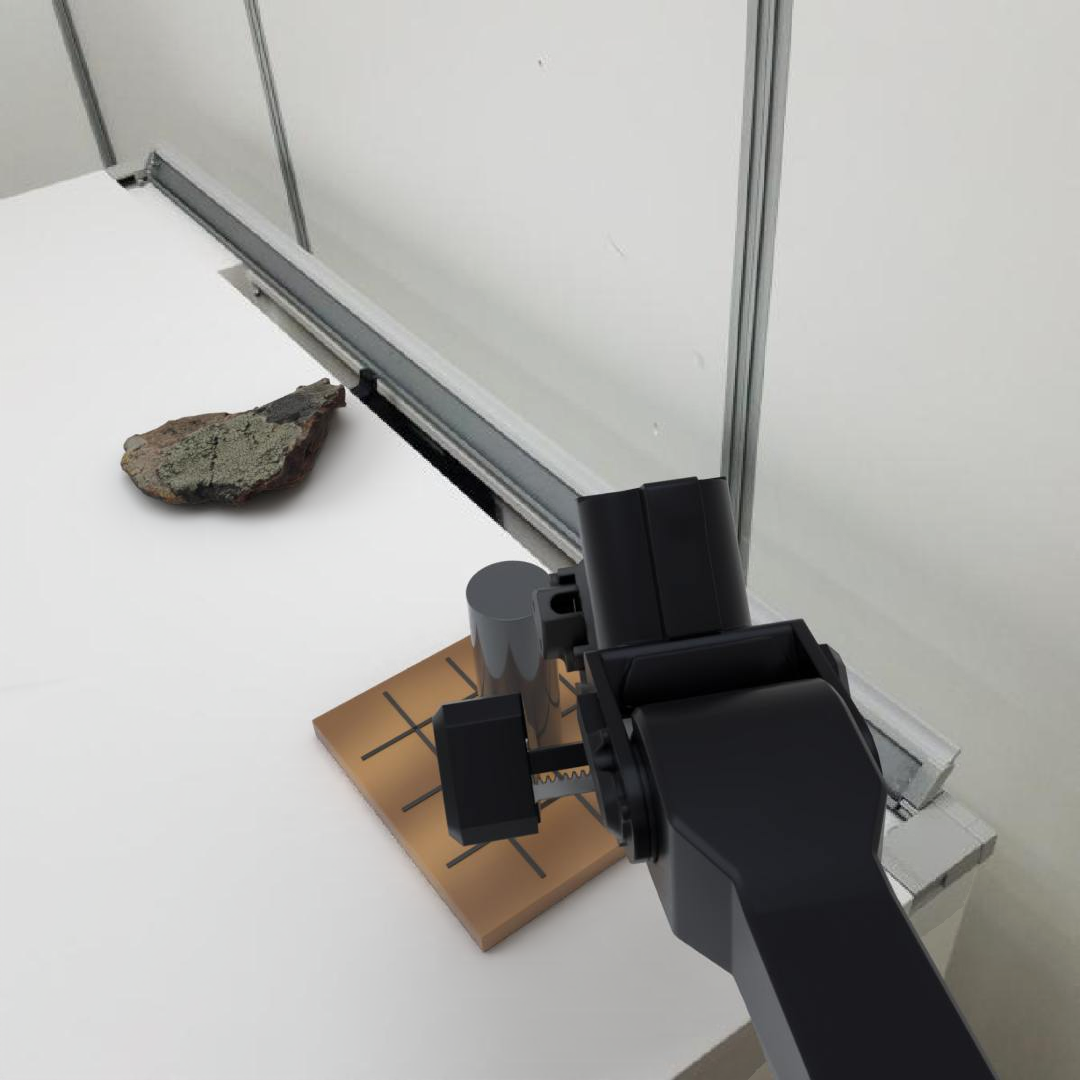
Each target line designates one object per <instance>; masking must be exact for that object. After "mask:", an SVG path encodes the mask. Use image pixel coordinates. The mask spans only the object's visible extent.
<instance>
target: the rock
mask: <svg viewBox="0 0 1080 1080" xmlns="http://www.w3.org/2000/svg"><path fill="white" fill-rule="evenodd" d="M346 391H347V390H346V388H345V385H344V384H342V383H339V384H337V385H335V384H331V380H330V378H329V377H328V378H327V377H323V378H321V379H319V380H317V381H315V382H313V383H311V384H309V385H308V384H307V385H298V386H297V387H296V388H295V390H294V391H293V392H290V393H287V394H285V395H284V396H282V397H280V398H277V399H275V400H273V401H270V402H268V403H266V404H263V405H261V406H259V407H258V406H255V407H254V408H252V409H247V410H245V411H240V412H234V413H230V412H226V411H221V412H208V413H202V414H201V413H200V414H196V415H188V416H183V417H180V418H177V419H169V420H167V421H166V422H165V423H163V424H162V425H159V426H158V427H157V428H154V429H152V430H149V431H146V432H143V433H141V434H137V433H135V434H133V435H131V436H129V437H127V438H126V439H125V441H124V442H123V446H122V447H123V450H124V451H125V452H124V453H123V455H122V458H121V460H120V462H119V464H120V467H121V470H122V471H124V472H125V474H127V475H128V477H129V478H130V480H131V481H132V483H133V484H134V485H135V487H136V488H137V489H138V490H139V491H140V492H141V493H143V494H144V495H145V496H147V497H149V498H150V499H151V498H152V499H153V500H157V501H161V502H164V503H166V504H169V505H170V506H171V505H172V506H173V505H178V504H192V505H197V504H201V503H205V502H206V503H207V502H209V501H212V500H213V501H216V502H218V503H221V504H225V505H228V506H231V507H235V508H240V507H242V506H243V505H245V504H246V503H247V502H248V500H250V498H251V497H253V496H255V495H257V494H259V493H261V492H266V491H269V490H281V489H285V488H286V489H287V488H293V487H297V486H299V485H300V483H301V482H302V481H303V480H304V478H306V476H307V475H308V474H309V473H311V470H312V467H313V466H314V463H315V461H316V459H317V457H318V454H319V452H320V450H321V447H322V446H323V445H324V443H325V441H326V440H327V437H328V435H329V427H330V424H331V421H332V419H333V417H334V410H336V409H343V408H346V407H347V402H346V394H347V392H346Z"/></svg>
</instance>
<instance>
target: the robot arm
mask: <svg viewBox="0 0 1080 1080" xmlns="http://www.w3.org/2000/svg"><path fill="white" fill-rule="evenodd" d="M573 501H574V508H575V513H576V514H575V515H576V520H577V526H578V532H579V539H580V540H579V541H580V544H581V553H582V558H583V559H581V561H579V562H578V564H576V565H573V566H565V567H559V568H557V571H556V572H550V573H548V574H549V585H550V586H548V587H544V588H537V589H534V591H533V592H532V606H533V614H534V619H535V625H536V630H537V635H538V641H539V646H540V652H541V655H542V658H543V659H544V660H551V659H561V660H563V661H564V663H565V667H566V671H567V673H568V672H574V671H579V675H580V681H581V682H576V683H575V687H576V694H577V695H576V701H577V720H578V724H579V728H580V732H581V736H582V741H576V742H570V743H564V744H558V745H552V746H546V747H540V748H538V747H537V740H536V734H535V730H534V728H533V727H532V726H531V725H530V724H529V723H528V720H527V715H526V711H525V707H524V703H523V698H522V694H521V693H520V692H519V693H516V692H515V693H506V694H498V695H491V696H485V697H479V698H473V699H467V700H460V701H454V702H448V703H443V704H442V705H441V706H440V708H439V709H438V710H437V712H436V713H435V714H434V716H433V717H432V724H433V732H434V739H435V746H436V752H437V759H438V766H439V773H440V780H441V787H442V794H443V800H444V807H445V814H446V821H447V827H448V833H449V836H451V837H452V838H453V839H454V840H456V841H457V842H458V843H460V844H461V845H462V846H463V847H464V846H469V845H475V844H481V843H487V842H493V841H498V840H504V839H510V838H516V837H522V836H527V835H533V834H539V830H538V823H541V801H542V800H547V799H553V798H559V797H565V796H571V795H577V794H583V793H589V792H594V791H595V793H596V797H597V801H598V805H599V810H600V814H601V818H602V822H603V825H604V827H605V829H606V830H608V831H609V832H610V833H612V834H613V835H614V836H616V839H617V844H618V847H619V848H620V847H624V849H625V852H626V855H625V856H626V858H627V860H628V862H629V864H631V865H637V864H642V863H646V867H647V869H648V872H649V875H650V877H651V880H652V883H653V885H654V888H655V891H656V893H657V896H658V899H659V901H660V904H661V907H662V909H663V912H664V914H665V917H666V919H667V922H668V925H669V927H670V930H671V932H672V934H673V935H674V936H675V938H676V939H678V940H679V941H681V942H682V943H684V944H685V945H687V946H689V947H690V948H692V949H693V950H695V951H696V952H697V953H699V954H700V955H702V956H704V957H705V958H707V959H708V960H709V961H711V962H713V963H714V964H715V965H716V966H718V967H719V968H721V969H722V970H724V971H726V972H727V973H729V974H730V975H731V976H732V977H733V980H734V982H735V984H736V986H737V988H738V991H739V993H740V996H741V998H742V1000H743V1002H744V1004H745V1008H746V1010H747V1013H748V1015H749V1018H750V1021H751V1023H752V1027H753V1028H754V1029H753V1030H754V1031H755V1034H756V1037H757V1040H758V1042H759V1045H760V1047H761V1050H762V1053H763V1055H764V1058H765V1061H766V1064H767V1066H768V1069H769V1073H770V1075H771V1077H772V1079H773V1080H1001V1078H1000V1076H999V1074H998V1073H997V1071H996V1069H995V1067H994V1066H993V1064H992V1062H991V1060H990V1058H989V1057H988V1055H987V1053H986V1051H985V1050H984V1048H983V1046H982V1044H981V1042H980V1041H979V1039H978V1037H977V1035H976V1034H975V1031H974V1030H973V1028H972V1027H971V1025H970V1023H969V1021H968V1019H967V1018H966V1016H965V1014H964V1012H963V1011H962V1008H961V1007H960V1006H959V1003H958V1002H957V1000H956V998H955V997H954V994H953V993H952V991H951V990H950V987H949V986H948V984H947V983H946V981H945V979H944V977H943V976H942V973H941V972H940V971H939V969H938V967H937V965H936V963H935V961H934V960H933V958H932V956H931V954H930V952H929V950H928V949H927V947H926V945H925V944H924V941H923V939H922V938H921V937H920V935H919V933H918V932H917V930H916V928H915V926H914V924H913V923H912V920H911V919H910V917H909V915H908V914H907V912H906V910H905V908H904V906H903V905H902V903H901V901H900V900H899V898H898V896H897V894H896V892H895V890H894V888H893V886H892V884H891V882H890V880H889V879H890V878H889V877H888V874H887V873H886V871H885V869H884V867H883V865H882V860H883V859H882V858H883V849H884V847H883V846H884V838H885V837H884V836H885V826H886V815H887V805H888V795H889V794H888V793H889V791H888V788H889V787H888V783H887V781H886V779H885V777H884V774H883V773H884V772H883V767H882V764H881V758H880V755H879V751H878V748H877V745H876V742H875V739H874V737H873V734H872V732H871V729H870V728H869V726H868V724H867V721H866V720H865V718H864V717H863V715H862V713H861V712H860V710H859V708H858V707H857V705H856V704H855V702H854V700H853V699H852V695H851V694H852V693H851V689H850V683H849V678H848V672H847V667H846V665H845V663H844V661H843V659H842V657H841V654H840V653H839V652H838V651H837V650H835V649H834V648H833V647H832V646H831V645H829V644H828V643H818V641H817V640H816V638H815V636H814V635H813V633H812V632H811V630H810V628H809V626H808V625H807V623H806V621H805V620H804V618H800V617H799V618H795V619H788V620H782V621H774V622H767V623H762V624H752V623H753V622H752V618H751V611H750V605H749V600H748V593H747V588H746V587H747V586H746V582H745V575H744V571H743V570H744V569H743V563H742V559H741V552H740V545H739V540H738V534H737V528H736V523H735V517H734V511H733V505H732V498H731V493H730V487H729V481H728V477H727V476H726V475H724V476H716V477H709V478H702V479H701V478H699V477H698V476H696V475H694V476H689V477H688V476H687V477H681V478H674V479H667V480H660V481H659V480H658V481H651V482H646V483H642V484H641V485H640V486H639V487H634V488H630V489H623V490H619V491H612V492H604V493H598V494H590V495H583V496H579V497H576V498H575V499H574V500H573ZM588 765H589V769H590V770H589V775H587V774H586V772H585V770H584V769H583V770H581V773H580V777H578V775H577V773H576V771H572V777H571V778H569V776H568V774H567V773H566V772H565V773H564V775H563V779H562V780H561V779H560V777H559V775H558V774H555V778H554V781H552V780H551V778H550V776H549V775H547V776H546V781H545V782H543V781H542V779H541V777H540V774H541V773H546V772H552V771H558V770H564V769H570V768H576V767H582V766H588Z"/></svg>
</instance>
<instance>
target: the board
mask: <svg viewBox="0 0 1080 1080" xmlns="http://www.w3.org/2000/svg"><path fill="white" fill-rule="evenodd" d="M558 668H559V686H560V704H561V722H562V744H564V743H570V742H576V741H582V736H581V732H580V728H579V724H578V720H577V701H576V695H577V694H576V687H575V683H576V682H581V681H580V675H579V671H574V672H568V673H567V671H566V667H565V663H564V661H563V660H561V659H558ZM473 698H479V697H478V689H477V681H476V673H475V665H474V657H473V649H472V641H471V633H470V634H469V635H467V636H465V637H463V638H461V639H459V640H457V641H456V642H454V643H452V644H450V645H448V646H446V647H444V648H443V649H440V650H438V651H437V652H435V653H433V654H432V655H430V656H428V657H426V658H424V659H422V660H421V661H419V662H416V663H415V664H413V665H411V666H409V667H407V668H405V669H404V670H402V671H400V672H398V673H396V674H394V675H392V676H391V677H389V678H387V679H385V680H384V681H382V682H380V683H377V684H376V685H374V686H372V687H370V688H369V689H367V690H365V691H363V692H361V693H359V694H357V695H356V696H353V697H352V698H350V699H348V700H346V701H344V702H342V703H341V704H339V705H337V706H334V707H333V708H331V709H330V710H328V711H326V712H324V713H322V714H320V715H319V716H316V717H315V718H313V719H311V722H312V726H313V730H314V733H315V736H316V737H317V738H318V740H319V741H320V743H321V744H322V745H323V746H324V748H325V749H326V751H328V752H329V754H330V755H331V757H332V758H333V759H334V761H335V762H336V763H337V764H338V765H339V767H340V768H341V770H342V771H343V772H344V773H345V776H347V778H348V779H349V780H350V781H351V783H352V784H353V785H354V787H355V788H356V789H357V791H358V792H359V793H360V794H361V795H362V797H363V798H364V800H366V802H367V804H369V806H370V807H371V809H372V810H373V811H374V812H375V814H376V815H377V816H378V818H379V819H380V820H381V822H382V823H383V825H385V827H386V828H387V830H388V831H389V832H390V833H391V835H392V836H393V838H395V840H396V841H397V842H398V844H399V845H400V847H401V848H402V849H403V850H404V851H405V853H406V854H407V855H408V857H409V858H410V859H411V861H412V863H414V864H415V866H416V867H417V868H418V870H419V871H420V872H421V873H422V875H423V876H424V877H425V879H426V880H427V881H428V883H429V884H430V886H431V887H432V888H433V889H434V891H435V892H436V893H437V894H438V896H439V897H440V898H441V900H442V901H443V903H445V905H446V906H447V907H448V909H449V910H450V911H451V912H452V914H453V915H454V916H455V918H456V919H457V920H458V921H459V923H460V924H461V925H462V928H464V929H465V931H466V932H467V933H468V935H469V936H470V938H472V940H473V941H474V942H475V944H476V945H477V946H478V948H479V949H480V950H481V951H482V952H483V953H486V952H487V951H488V950H490V949H491V948H493V947H494V946H495V945H497V944H498V943H500V942H501V941H503V940H504V939H506V938H507V937H508V936H511V934H513V933H514V932H516V931H517V930H519V929H521V928H522V927H523V926H524V925H526V924H528V923H529V922H530V921H531V920H534V918H536V917H538V916H539V915H541V914H542V913H544V912H545V911H546V910H548V909H549V908H550V907H552V906H554V905H556V904H557V903H558V902H560V901H561V900H562V899H564V898H565V897H567V896H568V895H570V894H571V893H573V892H574V891H576V890H578V889H579V888H580V887H582V886H583V885H584V884H586V883H587V882H589V881H590V880H591V879H594V878H595V877H596V876H597V875H599V874H600V873H602V872H603V871H604V870H606V869H608V868H609V867H611V866H612V865H613V864H615V863H617V862H618V861H619V860H621V859H623V858H624V857H626V856H627V855H626V852H625V849H624V847H620V848H619V847H618V844H617V839H616V836H614V835H613V834H612V833H610V832H609V831H608V830H606V829H605V827H604V825H603V822H602V818H601V814H600V810H599V805H598V801H597V797H596V793H595V791H594V792H589V793H583V794H577V795H571V796H565V797H559V798H553V799H547V800H542V801H541V823H538V830H539V834H533V835H527V836H522V837H516V838H510V839H504V840H498V841H493V842H487V843H481V844H475V845H469V846H464V847H463V846H462V845H461V844H460V843H458V842H457V841H456V840H454V839H453V838H452V837H451V836H449V833H448V827H447V821H446V814H445V807H444V800H443V794H442V787H441V780H440V773H439V766H438V759H437V752H436V746H435V739H434V732H433V724H432V717H433V716H434V714H435V713H436V712H437V710H438V709H439V708H440V706H441V705H442V704H443V703H448V702H454V701H460V700H467V699H473ZM583 769H584V770H585V772H586V774H587V775H589V770H590V769H589V765H588V766H582V767H576V768H570V769H564V770H558V771H552V772H546V773H541V774H540V777H541V779H542V781H543V782H545V781H546V776H547V775H549V776H550V778H551V780H552V781H554V778H555V774H558V775H559V777H560V779H561V780H562V779H563V775H564V773H565V772H566V773H567V774H568V776H569V778H571V777H572V771H576V773H577V775H578V777H580V773H581V770H583Z"/></svg>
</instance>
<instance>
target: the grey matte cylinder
mask: <svg viewBox="0 0 1080 1080" xmlns="http://www.w3.org/2000/svg"><path fill="white" fill-rule="evenodd" d="M549 574H550V573H548V572H547V571H546V570H545V569H543V568H542V567H540V566H539V565H537V564H534V563H532V562H530V561H529V562H528V561H524V560H516V559H515V560H502V561H497V562H494V563H491V564H489V565H486V566H484V567H482V568H481V569H479V570H477V572H476V573H474V574H473V575H472V577H471V578H470V579H469V581H468V582H467V584H466V588H465V599H466V607H467V615H468V617H467V618H468V624H469V632H470V634H471V641H472V649H473V657H474V665H475V673H476V681H477V689H478V697H485V696H491V695H498V694H506V693H515V692H516V693H519V692H520V693H521V694H522V698H523V703H524V707H525V711H526V715H527V720H528V723H529V724H530V725H531V726H532V727H533V728H534V730H535V734H536V740H537V747H538V748H540V747H546V746H552V745H558V744H562V722H561V704H560V686H559V668H558V659H551V660H544V659H543V658H542V655H541V652H540V646H539V641H538V635H537V630H536V625H535V619H534V614H533V606H532V592H533V591H534V589H537V588H544V587H548V586H550V585H549Z"/></svg>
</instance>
